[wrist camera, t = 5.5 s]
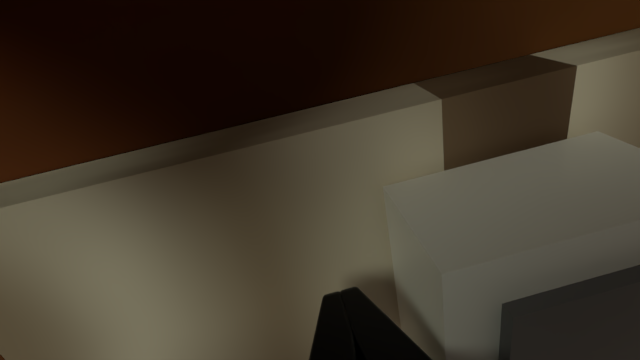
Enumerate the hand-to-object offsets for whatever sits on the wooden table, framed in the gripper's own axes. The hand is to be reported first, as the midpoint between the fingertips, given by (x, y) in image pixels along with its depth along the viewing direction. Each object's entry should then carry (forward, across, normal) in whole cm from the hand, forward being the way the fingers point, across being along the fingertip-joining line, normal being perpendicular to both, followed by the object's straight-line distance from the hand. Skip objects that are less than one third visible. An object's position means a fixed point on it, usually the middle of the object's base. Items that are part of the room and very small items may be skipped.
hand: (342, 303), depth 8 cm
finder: (+1, -4, 0) cm, 4 cm away
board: (+2, -1, +2) cm, 3 cm away
